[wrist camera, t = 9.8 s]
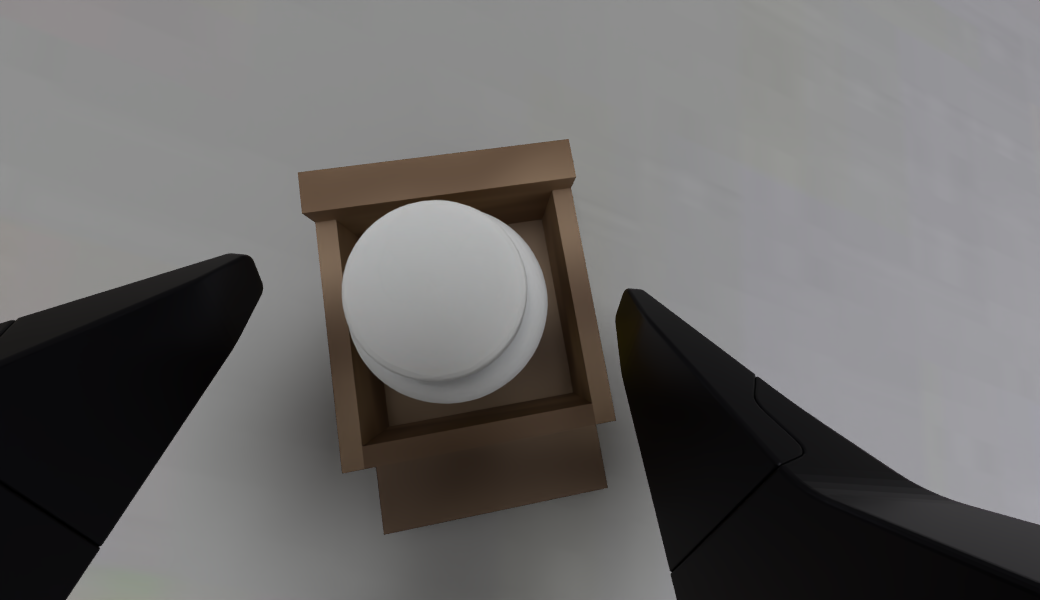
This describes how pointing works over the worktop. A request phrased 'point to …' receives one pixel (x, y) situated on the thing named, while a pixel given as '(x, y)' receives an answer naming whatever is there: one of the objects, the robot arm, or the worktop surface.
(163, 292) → the robot arm
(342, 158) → the worktop surface
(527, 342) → the supplement bottle
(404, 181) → the open wooden box
